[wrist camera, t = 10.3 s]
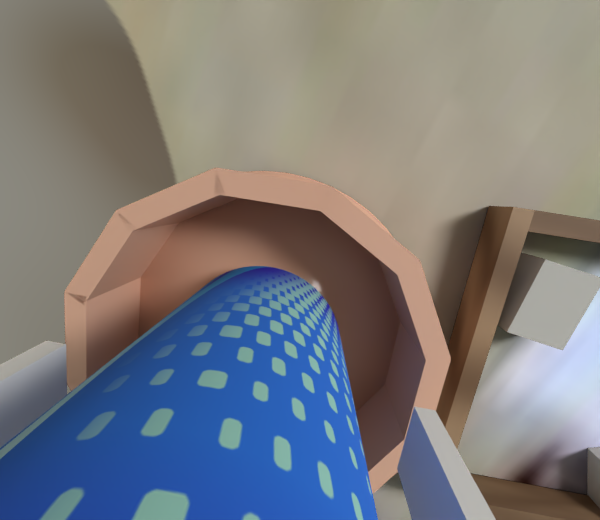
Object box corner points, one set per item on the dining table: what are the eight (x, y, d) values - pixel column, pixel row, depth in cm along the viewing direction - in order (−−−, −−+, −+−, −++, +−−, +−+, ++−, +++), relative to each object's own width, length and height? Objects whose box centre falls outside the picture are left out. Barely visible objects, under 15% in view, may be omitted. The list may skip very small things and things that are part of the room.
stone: (512, 250, 16) (545, 259, 14) (563, 267, 16) (604, 278, 14) (481, 313, 17) (506, 331, 15) (529, 329, 17) (562, 350, 15)
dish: (130, 149, 16) (48, 127, 11) (451, 200, 16) (512, 200, 11) (122, 421, 20) (59, 493, 15) (380, 469, 19) (401, 560, 15)
